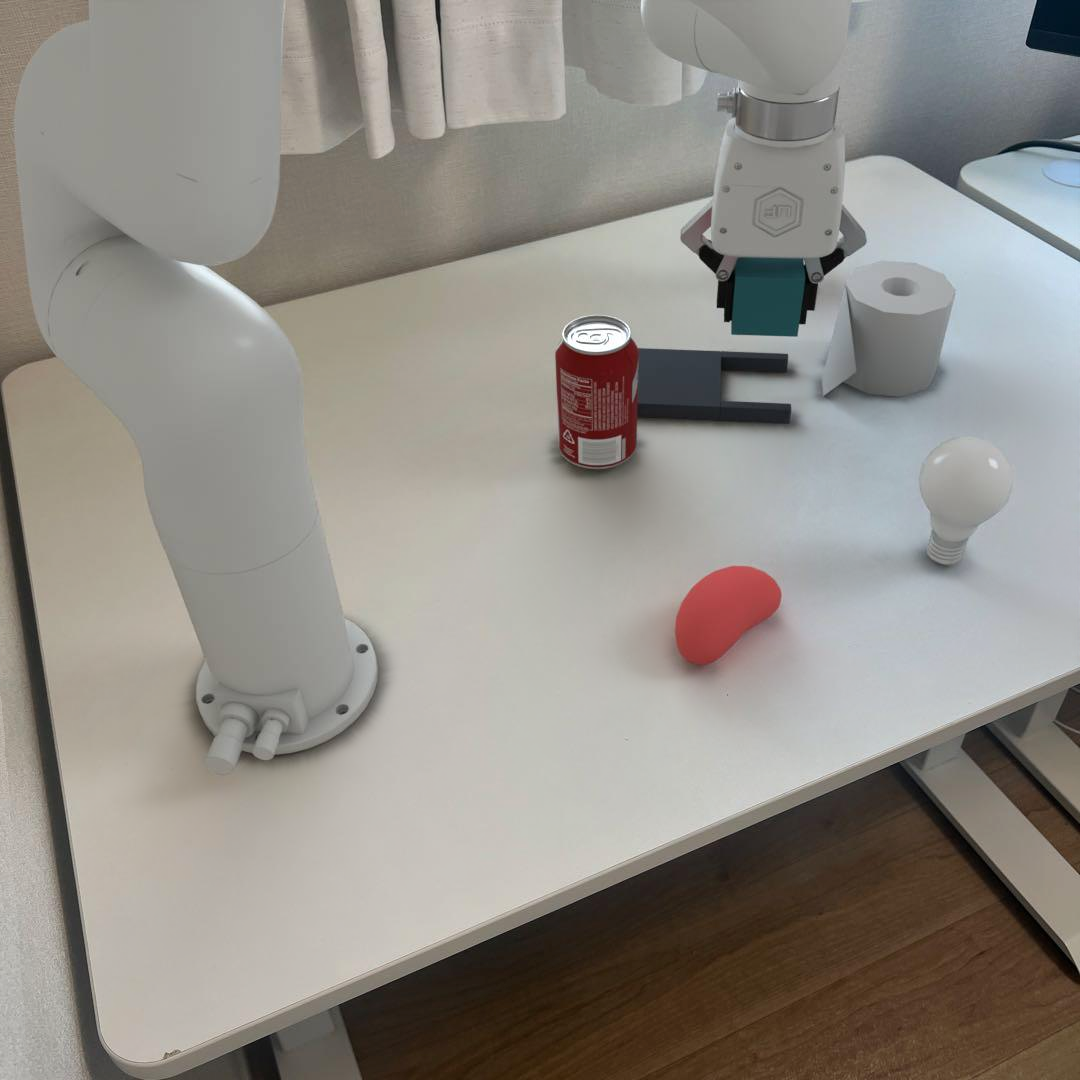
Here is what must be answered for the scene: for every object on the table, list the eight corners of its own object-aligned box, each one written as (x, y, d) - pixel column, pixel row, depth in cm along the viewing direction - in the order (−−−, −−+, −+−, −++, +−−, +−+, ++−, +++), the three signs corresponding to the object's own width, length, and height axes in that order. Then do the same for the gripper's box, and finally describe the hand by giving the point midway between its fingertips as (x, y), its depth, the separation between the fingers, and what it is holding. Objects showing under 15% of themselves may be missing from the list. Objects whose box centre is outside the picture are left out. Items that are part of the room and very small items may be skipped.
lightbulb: (883, 544, 86) (910, 431, 79) (952, 522, 88) (985, 410, 80) (932, 597, 82) (965, 484, 74) (1003, 574, 83) (1043, 460, 76)
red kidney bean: (652, 632, 82) (649, 612, 76) (744, 556, 83) (748, 531, 77) (698, 685, 80) (698, 669, 74) (792, 607, 81) (799, 585, 75)
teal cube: (797, 336, 94) (805, 278, 90) (731, 334, 95) (736, 276, 91) (795, 302, 98) (802, 245, 94) (731, 300, 99) (736, 243, 95)
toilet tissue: (806, 402, 100) (818, 320, 94) (852, 331, 108) (866, 252, 103) (905, 430, 97) (924, 346, 91) (945, 354, 105) (965, 273, 99)
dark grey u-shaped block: (789, 423, 98) (791, 410, 97) (588, 414, 100) (588, 401, 99) (786, 366, 104) (787, 353, 103) (597, 359, 107) (597, 346, 106)
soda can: (630, 479, 93) (632, 359, 85) (552, 471, 94) (547, 352, 86) (641, 431, 98) (644, 313, 90) (566, 424, 99) (563, 307, 91)
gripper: (670, 128, 82) (663, 335, 95) (907, 130, 80) (868, 342, 92) (674, 89, 88) (667, 290, 100) (897, 90, 85) (861, 295, 98)
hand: (764, 313), depth 96 cm, fingers closed on teal cube, 5 cm apart
